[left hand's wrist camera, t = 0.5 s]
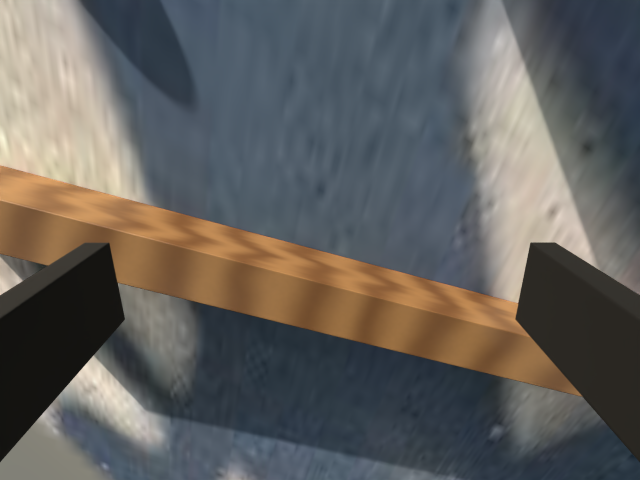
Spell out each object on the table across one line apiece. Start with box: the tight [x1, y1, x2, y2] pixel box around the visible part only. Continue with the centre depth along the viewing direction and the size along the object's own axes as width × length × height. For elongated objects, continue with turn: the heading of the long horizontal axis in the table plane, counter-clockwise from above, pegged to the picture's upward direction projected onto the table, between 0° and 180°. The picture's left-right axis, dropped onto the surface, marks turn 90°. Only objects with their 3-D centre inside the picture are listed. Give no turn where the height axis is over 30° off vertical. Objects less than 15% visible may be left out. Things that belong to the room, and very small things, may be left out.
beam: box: [0, 166, 583, 397], centre depth 38 cm, size 74×5×7 cm, turn 74°
